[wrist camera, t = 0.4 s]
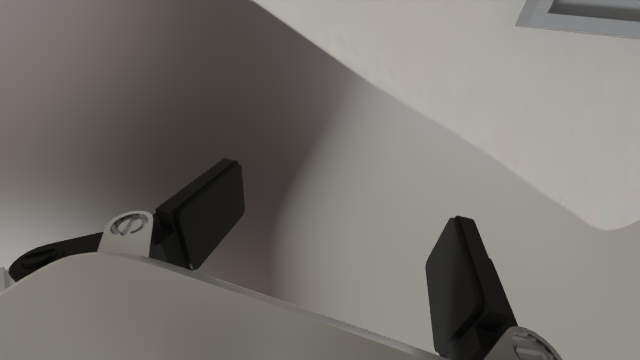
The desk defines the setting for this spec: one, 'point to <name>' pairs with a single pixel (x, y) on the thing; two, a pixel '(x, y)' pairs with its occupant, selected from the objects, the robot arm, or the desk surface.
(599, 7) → the housing
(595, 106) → the desk surface
